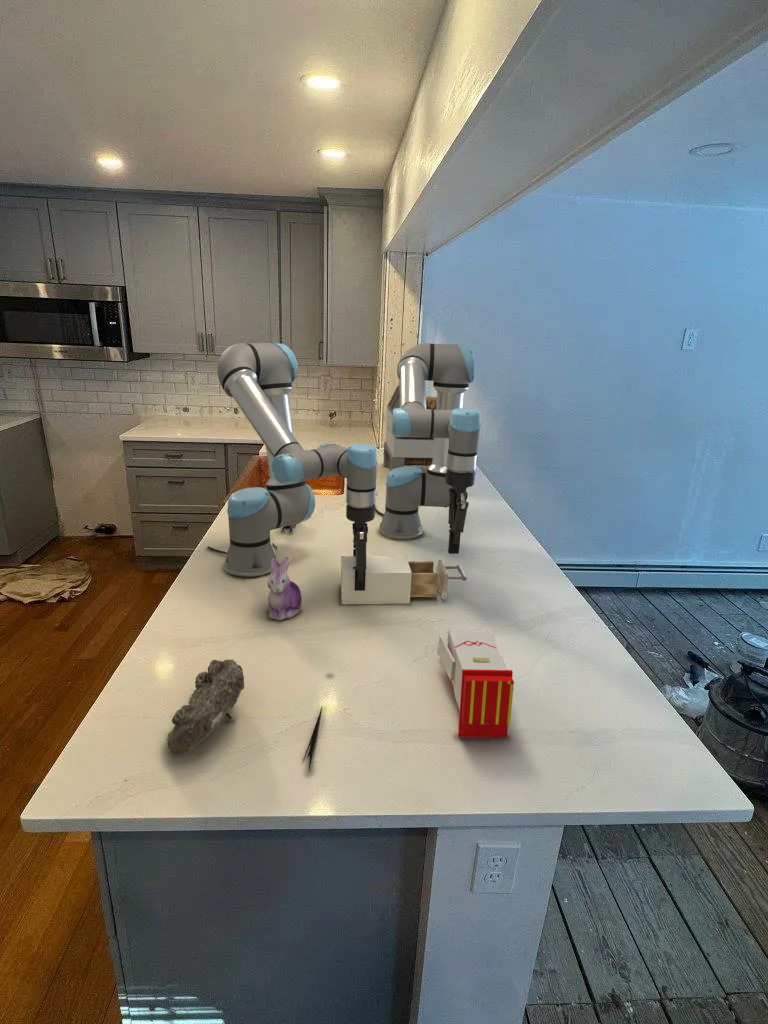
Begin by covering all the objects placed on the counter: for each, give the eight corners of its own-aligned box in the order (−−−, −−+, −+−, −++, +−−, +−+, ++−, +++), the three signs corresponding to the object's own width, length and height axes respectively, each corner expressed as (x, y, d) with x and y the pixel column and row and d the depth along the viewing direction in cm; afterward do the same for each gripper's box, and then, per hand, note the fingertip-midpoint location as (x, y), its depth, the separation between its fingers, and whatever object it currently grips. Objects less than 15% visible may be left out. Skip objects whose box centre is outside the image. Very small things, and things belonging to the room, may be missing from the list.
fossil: (192, 660, 117) (244, 628, 112) (224, 691, 120) (276, 661, 115) (142, 746, 98) (202, 712, 93) (182, 779, 101) (242, 748, 96)
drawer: (458, 582, 164) (460, 559, 161) (465, 598, 155) (468, 574, 152) (380, 583, 161) (381, 559, 159) (383, 599, 152) (384, 575, 150)
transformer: (382, 463, 289) (386, 382, 275) (445, 464, 293) (451, 384, 279) (390, 482, 257) (394, 392, 243) (460, 483, 261) (468, 394, 247)
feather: (331, 679, 122) (336, 673, 122) (307, 777, 96) (313, 769, 95) (324, 675, 122) (329, 669, 121) (298, 772, 95) (304, 764, 95)
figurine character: (295, 538, 195) (300, 518, 208) (295, 519, 192) (300, 500, 205) (276, 538, 195) (282, 518, 208) (275, 518, 191) (281, 499, 205)
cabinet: (404, 585, 163) (406, 555, 160) (409, 603, 153) (411, 572, 150) (340, 585, 161) (341, 556, 158) (341, 604, 151) (342, 573, 148)
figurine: (272, 625, 139) (271, 570, 134) (261, 606, 148) (259, 553, 143) (309, 617, 144) (308, 563, 139) (295, 599, 152) (295, 548, 147)
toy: (488, 613, 130) (523, 677, 101) (484, 667, 133) (517, 744, 104) (435, 612, 130) (455, 676, 101) (432, 666, 133) (451, 743, 103)
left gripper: (378, 520, 137) (375, 600, 144) (371, 490, 159) (369, 561, 166) (347, 520, 136) (346, 601, 144) (345, 490, 158) (343, 562, 165)
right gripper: (481, 476, 141) (472, 562, 149) (469, 463, 153) (461, 543, 161) (451, 476, 140) (444, 563, 148) (441, 462, 152) (435, 543, 161)
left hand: (358, 580), depth 155 cm, fingers closed on cabinet, 11 cm apart
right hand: (453, 552), depth 155 cm, fingers closed
